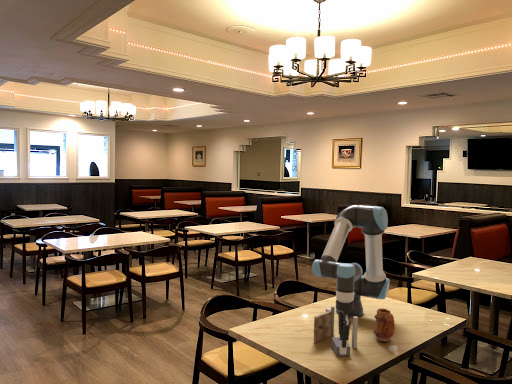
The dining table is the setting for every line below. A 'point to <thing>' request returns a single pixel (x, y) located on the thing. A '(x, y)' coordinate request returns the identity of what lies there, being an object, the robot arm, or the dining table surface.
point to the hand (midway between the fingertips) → (342, 353)
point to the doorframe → (354, 329)
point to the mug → (384, 325)
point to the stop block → (337, 347)
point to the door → (322, 326)
